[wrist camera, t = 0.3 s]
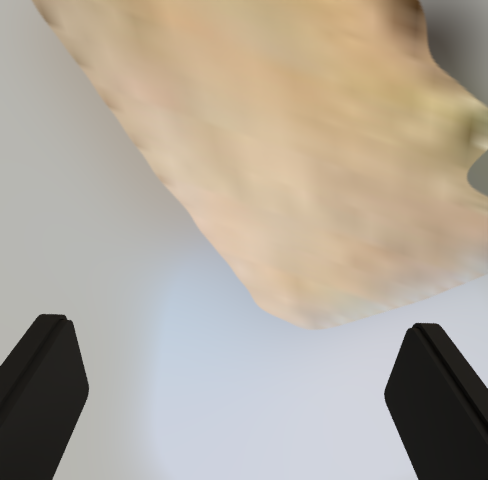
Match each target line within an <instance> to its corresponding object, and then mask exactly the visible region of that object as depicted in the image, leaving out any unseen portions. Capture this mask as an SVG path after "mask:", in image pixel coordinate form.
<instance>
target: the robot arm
mask: <svg viewBox="0 0 488 480" xmlns="http://www.w3.org/2000/svg"><path fill="white" fill-rule="evenodd" d="M88 392H89V384H88V381H87V377H86V373H85V369H84V365H83V361H82V357H81V353H80V349H79V345H78V341H77V337H76V333H75V329H74V325H73V322H72V321H71V320H67V318H66V316H65V315H57V314H41V315H39V316H38V317H37V318H36V320H35V321H34V322H33V324H32V325H31V326H30V328H29V329H28V330H27V331H26V333H25V334H24V336H23V337H22V338H21V340H20V341H19V342H18V344H17V345H16V346H15V347H14V349H13V350H12V351H11V353H10V354H9V355H8V357H7V358H6V359H5V361H4V362H3V364H2V365H1V366H0V480H52V479H53V476H54V474H55V472H56V469H57V467H58V465H59V463H60V460H61V458H62V456H63V453H64V451H65V449H66V446H67V444H68V442H69V439H70V437H71V435H72V432H73V430H74V428H75V425H76V423H77V421H78V418H79V416H80V414H81V412H82V409H83V407H84V405H85V402H86V400H87V397H88ZM384 395H385V402H386V404H387V407H388V409H389V411H390V414H391V416H392V419H393V421H394V423H395V426H396V428H397V430H398V433H399V435H400V437H401V440H402V442H403V444H404V447H405V449H406V451H407V454H408V456H409V458H410V461H411V463H412V465H413V468H414V470H415V472H416V475H417V477H418V480H488V388H487V387H486V386H485V384H484V383H483V382H482V380H481V379H480V378H479V376H478V375H477V374H476V372H475V371H474V370H473V368H472V367H471V366H470V364H469V363H468V362H467V360H466V359H465V358H464V356H463V355H462V354H461V353H460V351H459V350H458V349H457V347H456V346H455V344H454V343H453V342H452V340H451V339H450V338H449V336H448V335H447V334H446V332H445V331H444V330H443V329H442V327H441V326H440V325H439V324H434V323H433V324H432V323H415V324H414V325H413V327H412V328H409V329H408V330H407V331H406V334H405V337H404V340H403V342H402V345H401V348H400V351H399V353H398V356H397V359H396V361H395V364H394V367H393V369H392V372H391V375H390V377H389V380H388V383H387V385H386V388H385V393H384Z"/></svg>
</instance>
